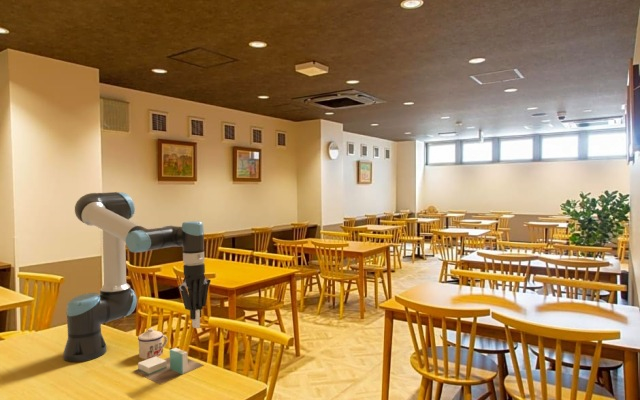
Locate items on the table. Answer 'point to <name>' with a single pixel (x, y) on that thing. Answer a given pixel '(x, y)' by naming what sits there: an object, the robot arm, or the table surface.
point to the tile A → (152, 365)
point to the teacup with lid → (151, 344)
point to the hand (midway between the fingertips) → (196, 327)
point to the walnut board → (168, 372)
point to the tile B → (178, 360)
